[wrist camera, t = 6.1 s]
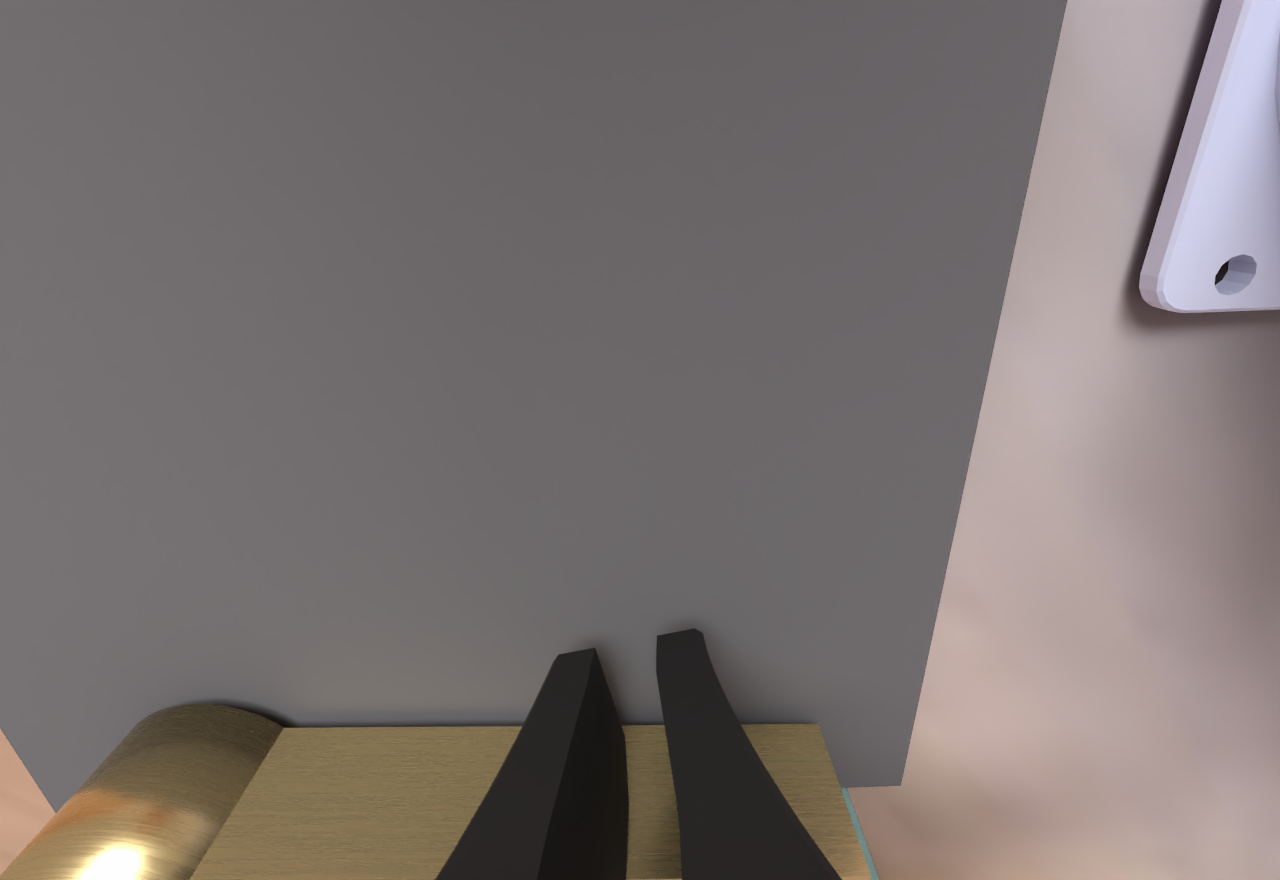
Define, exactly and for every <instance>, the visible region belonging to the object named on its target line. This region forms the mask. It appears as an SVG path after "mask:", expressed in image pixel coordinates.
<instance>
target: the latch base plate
mask: <svg viewBox="0 0 1280 880" xmlns="http://www.w3.org/2000/svg"><path fill="white" fill-rule="evenodd" d="M1066 3H1067V0H0V729H1V730H2V732H3V733H4V735H5V736H6V738H7V739H8V741H9V742H10V744H11V745H12V747H13V749H14V750H15V752H16V753H17V755H18V756H19V758H20V759H21V761H22V762H23V764H24V765H25V767H26V768H27V770H28V771H29V773H30V775H31V776H32V778H33V779H34V781H35V782H36V784H37V785H38V787H39V788H40V790H41V791H42V793H43V794H44V796H45V797H46V799H47V801H48V802H49V804H50V805H51V807H52V808H53V810H54V811H55V813H57V812H58V811H59V810H60V809H61V808H62V806H63V805H64V804H65V803H66V802H67V801H68V800H69V799H70V797H71V796H72V795H73V794H74V793H75V792H76V791H77V790H78V789H79V787H80V786H81V785H82V784H83V783H84V782H85V781H86V780H87V779H88V777H89V776H90V775H91V774H92V773H93V772H94V771H95V770H96V768H97V767H98V766H99V765H100V764H101V763H102V762H103V761H104V760H105V758H106V757H107V756H108V755H109V754H110V753H111V752H112V751H113V750H114V748H115V747H116V746H117V745H118V744H119V743H120V742H121V741H122V739H123V738H124V737H125V736H126V735H127V734H128V733H129V732H130V731H131V729H132V728H133V727H134V726H135V725H136V724H137V723H139V722H140V721H141V720H142V719H144V718H145V717H147V716H149V715H150V714H152V713H155V712H157V711H159V710H162V709H166V708H169V707H173V706H179V705H186V704H213V705H221V706H228V707H232V708H237V709H241V710H245V711H248V712H251V713H254V714H257V715H259V716H262V717H264V718H267V719H269V720H271V721H273V722H275V723H276V724H278V725H280V726H282V727H283V728H337V727H471V726H523V724H524V722H525V720H526V718H527V716H528V714H529V712H530V710H531V708H532V706H533V704H534V702H535V700H536V698H537V695H538V693H539V691H540V689H541V687H542V685H543V683H544V681H545V679H546V676H547V674H548V672H549V670H550V668H551V666H552V664H553V661H554V660H555V659H556V657H557V656H558V655H559V654H564V653H569V652H574V651H579V650H585V649H590V648H595V649H596V652H597V655H598V658H599V661H600V663H601V666H602V669H603V672H604V675H605V678H606V681H607V684H608V687H609V690H610V693H611V696H612V699H613V702H614V705H615V708H616V711H617V714H618V717H619V720H620V723H621V725H664V720H663V713H662V707H661V701H660V694H659V688H658V681H657V675H656V645H657V635H663V634H668V633H673V632H678V631H683V630H689V629H694V628H695V629H697V630H699V631H700V632H702V633H703V635H704V639H705V644H706V648H707V652H708V655H709V658H710V661H711V663H712V666H713V668H714V671H715V673H716V676H717V678H718V680H719V682H720V685H721V687H722V689H723V691H724V693H725V695H726V697H727V699H728V701H729V703H730V705H731V707H732V709H733V711H734V713H735V715H736V717H737V719H738V720H739V722H740V724H818V725H819V727H820V730H821V733H822V736H823V739H824V742H825V745H826V747H827V750H828V753H829V756H830V759H831V762H832V765H833V768H834V770H835V773H836V776H837V779H838V782H839V785H840V788H850V787H874V786H899V785H901V782H902V777H903V772H904V767H905V763H906V758H907V753H908V749H909V744H910V739H911V734H912V730H913V725H914V720H915V716H916V711H917V706H918V701H919V697H920V692H921V687H922V683H923V678H924V673H925V668H926V664H927V659H928V654H929V649H930V645H931V640H932V635H933V631H934V626H935V621H936V616H937V612H938V607H939V602H940V598H941V593H942V588H943V583H944V579H945V574H946V569H947V565H948V560H949V555H950V550H951V546H952V541H953V536H954V532H955V527H956V522H957V517H958V513H959V508H960V503H961V499H962V494H963V489H964V484H965V480H966V475H967V470H968V465H969V461H970V456H971V451H972V447H973V442H974V437H975V432H976V428H977V423H978V418H979V414H980V409H981V404H982V399H983V395H984V390H985V385H986V381H987V376H988V371H989V366H990V362H991V357H992V352H993V348H994V343H995V338H996V333H997V329H998V324H999V319H1000V315H1001V310H1002V305H1003V300H1004V296H1005V291H1006V286H1007V282H1008V277H1009V272H1010V267H1011V263H1012V258H1013V253H1014V248H1015V244H1016V239H1017V234H1018V230H1019V225H1020V220H1021V215H1022V211H1023V206H1024V201H1025V197H1026V192H1027V187H1028V182H1029V178H1030V173H1031V168H1032V164H1033V159H1034V154H1035V149H1036V145H1037V140H1038V135H1039V131H1040V126H1041V121H1042V116H1043V112H1044V107H1045V102H1046V98H1047V93H1048V88H1049V83H1050V79H1051V74H1052V69H1053V64H1054V60H1055V55H1056V50H1057V46H1058V41H1059V36H1060V31H1061V27H1062V22H1063V17H1064V13H1065V8H1066Z"/></svg>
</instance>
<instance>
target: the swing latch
mask: <svg viewBox="0 0 1280 880" xmlns="http://www.w3.org/2000/svg"><path fill="white" fill-rule="evenodd" d="M621 726H622V729H623V732H624V735H625V743H626V759H627V774H628V794H629V819H628V844H627V867H626V880H682V871H681V850H680V830H679V821H678V812H677V803H676V795H675V789H674V782H673V776H672V770H671V764H670V757H669V751H668V745H667V738H666V732H665V726H664V725H621ZM741 726H742V728H743V729H744V731H745V733H746V735H747V737H748V738H749V740H750V742H751V744H752V746H753V747H754V749H755V751H756V752H757V754H758V756H759V757H760V759H761V761H762V762H763V764H764V766H765V767H766V769H767V771H768V772H769V774H770V775H771V777H772V779H773V780H774V782H775V783H776V785H777V786H778V788H779V790H780V791H781V793H782V794H783V796H784V797H785V799H786V801H787V802H788V804H789V805H790V807H791V808H792V810H793V811H794V813H795V814H796V816H797V817H798V819H799V820H800V821H801V823H802V824H803V826H804V827H805V829H806V830H807V832H808V833H809V835H810V836H811V837H812V839H813V840H814V842H815V843H816V844H817V846H818V847H819V849H820V850H821V851H822V853H823V854H824V856H825V857H826V858H827V860H828V861H829V862H830V864H831V865H832V867H833V868H834V869H835V871H836V872H837V873H838V875H839V876H840V877H841V879H842V880H871V874H870V871H869V868H868V865H867V862H866V859H865V856H864V854H863V851H862V848H861V845H860V842H859V839H858V836H857V834H856V831H855V828H854V825H853V822H852V819H851V816H850V813H849V811H848V808H847V805H846V802H845V799H844V796H843V793H842V791H841V788H840V785H839V782H838V779H837V776H836V773H835V770H834V768H833V765H832V762H831V759H830V756H829V753H828V750H827V747H826V745H825V742H824V739H823V736H822V733H821V730H820V727H819V725H818V724H741ZM521 728H522V726H471V727H337V728H283V727H282V726H280V725H278V724H276V723H275V722H273V721H271V720H269V719H267V718H264V717H262V716H259V715H257V714H254V713H251V712H248V711H245V710H241V709H237V708H232V707H228V706H221V705H213V704H186V705H179V706H173V707H169V708H166V709H162V710H159V711H157V712H155V713H152V714H150V715H149V716H147V717H145V718H144V719H142V720H141V721H140V722H139V723H137V724H136V725H135V726H134V727H133V728H132V729H131V731H130V732H129V733H128V734H127V735H126V736H125V737H124V738H123V739H122V741H121V742H120V743H119V744H118V745H117V746H116V747H115V748H114V750H113V751H112V752H111V753H110V754H109V755H108V756H107V757H106V758H105V760H104V761H103V762H102V763H101V764H100V765H99V766H98V767H97V768H96V770H95V771H94V772H93V773H92V774H91V775H90V776H89V777H88V779H87V780H86V781H85V782H84V783H83V784H82V785H81V786H80V787H79V789H78V790H77V791H76V792H75V793H74V794H73V795H72V796H71V797H70V799H69V800H68V801H67V802H66V803H65V804H64V805H63V806H62V808H61V809H60V810H59V811H58V812H57V813H56V814H55V815H54V816H53V818H52V819H51V820H50V821H49V822H48V823H47V824H46V825H45V826H44V828H43V829H42V830H41V831H40V832H39V833H38V834H37V835H36V837H35V838H34V839H33V840H32V841H31V842H30V843H29V844H28V845H27V847H26V848H25V849H24V850H23V851H22V852H21V853H20V854H19V856H18V857H17V858H16V859H15V860H14V861H13V862H12V863H11V864H10V866H9V867H8V868H7V869H6V870H5V871H4V872H3V873H2V874H1V876H0V880H435V879H436V877H437V875H438V874H439V872H440V871H441V869H442V867H443V866H444V864H445V863H446V861H447V860H448V858H449V856H450V855H451V853H452V851H453V850H454V848H455V847H456V845H457V843H458V841H459V840H460V838H461V836H462V835H463V833H464V831H465V830H466V828H467V826H468V824H469V823H470V821H471V819H472V818H473V816H474V814H475V813H476V811H477V809H478V807H479V806H480V804H481V802H482V801H483V799H484V797H485V796H486V794H487V792H488V790H489V788H490V787H491V785H492V783H493V781H494V779H495V777H496V776H497V774H498V772H499V770H500V768H501V766H502V764H503V762H504V760H505V759H506V757H507V755H508V753H509V751H510V749H511V747H512V745H513V743H514V742H515V740H516V738H517V736H518V734H519V732H520V730H521Z"/></svg>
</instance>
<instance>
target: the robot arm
mask: <svg viewBox="0 0 1280 880" xmlns="http://www.w3.org/2000/svg"><path fill="white" fill-rule="evenodd" d="M1228 260H1229V266H1228V271H1227V273H1226V274H1225V276H1224V278H1223V279H1222V280H1221V281H1220V282H1219V283H1218V284H1216V285H1215V276H1216V274H1217V273H1218V271H1219V269H1220V268H1221V266H1222V265H1223V264H1224V263H1225V262H1227V261H1228ZM1139 290H1140V292H1141V295H1142V298H1143V300H1144V301H1146V302H1147V303H1148V304H1149V305H1151V306H1152V307H1156V308H1160V309H1164V310H1168V311H1173V312H1178V313H1202V312H1228V311H1254V310H1280V0H1222V3H1221V6H1220V9H1219V13H1218V16H1217V19H1216V23H1215V26H1214V30H1213V33H1212V36H1211V40H1210V43H1209V46H1208V50H1207V53H1206V56H1205V60H1204V63H1203V66H1202V70H1201V73H1200V76H1199V80H1198V83H1197V86H1196V90H1195V93H1194V96H1193V100H1192V103H1191V106H1190V110H1189V113H1188V116H1187V120H1186V123H1185V126H1184V130H1183V133H1182V137H1181V140H1180V143H1179V147H1178V150H1177V153H1176V157H1175V160H1174V163H1173V167H1172V170H1171V173H1170V177H1169V180H1168V183H1167V187H1166V190H1165V193H1164V197H1163V200H1162V203H1161V207H1160V210H1159V213H1158V217H1157V220H1156V223H1155V227H1154V230H1153V234H1152V237H1151V240H1150V244H1149V247H1148V250H1147V254H1146V257H1145V260H1144V264H1143V267H1142V270H1141V274H1140V282H1139ZM656 675H657V681H658V688H659V694H660V701H661V707H662V713H663V720H664V726H665V732H666V738H667V745H668V751H669V757H670V764H671V770H672V776H673V782H674V789H675V795H676V803H677V812H678V821H679V830H680V850H681V871H682V880H842V879H841V877H840V876H839V875H838V873H837V872H836V871H835V869H834V868H833V867H832V865H831V864H830V862H829V861H828V860H827V858H826V857H825V856H824V854H823V853H822V851H821V850H820V849H819V847H818V846H817V844H816V843H815V842H814V840H813V839H812V837H811V836H810V835H809V833H808V832H807V830H806V829H805V827H804V826H803V824H802V823H801V821H800V820H799V819H798V817H797V816H796V814H795V813H794V811H793V810H792V808H791V807H790V805H789V804H788V802H787V801H786V799H785V797H784V796H783V794H782V793H781V791H780V790H779V788H778V786H777V785H776V783H775V782H774V780H773V779H772V777H771V775H770V774H769V772H768V771H767V769H766V767H765V766H764V764H763V762H762V761H761V759H760V757H759V756H758V754H757V752H756V751H755V749H754V747H753V746H752V744H751V742H750V740H749V738H748V737H747V735H746V733H745V731H744V729H743V728H742V726H741V724H740V722H739V720H738V719H737V717H736V715H735V713H734V711H733V709H732V707H731V705H730V703H729V701H728V699H727V697H726V695H725V693H724V691H723V689H722V687H721V685H720V682H719V680H718V678H717V676H716V673H715V671H714V668H713V666H712V663H711V661H710V658H709V655H708V652H707V648H706V644H705V639H704V635H703V633H702V632H700V631H699V630H697V629H695V628H694V629H689V630H683V631H678V632H673V633H668V634H663V635H657V645H656ZM628 819H629V794H628V774H627V759H626V743H625V735H624V732H623V729H622V726H621V723H620V720H619V717H618V714H617V711H616V708H615V705H614V702H613V699H612V696H611V693H610V690H609V687H608V684H607V681H606V678H605V675H604V672H603V669H602V666H601V663H600V661H599V658H598V655H597V652H596V649H595V648H590V649H585V650H579V651H574V652H569V653H564V654H559V655H558V656H557V657H556V659H555V660H554V661H553V664H552V666H551V668H550V670H549V672H548V674H547V676H546V679H545V681H544V683H543V685H542V687H541V689H540V691H539V693H538V695H537V698H536V700H535V702H534V704H533V706H532V708H531V710H530V712H529V714H528V716H527V718H526V720H525V722H524V724H523V726H522V728H521V730H520V732H519V734H518V736H517V738H516V740H515V742H514V743H513V745H512V747H511V749H510V751H509V753H508V755H507V757H506V759H505V760H504V762H503V764H502V766H501V768H500V770H499V772H498V774H497V776H496V777H495V779H494V781H493V783H492V785H491V787H490V788H489V790H488V792H487V794H486V796H485V797H484V799H483V801H482V802H481V804H480V806H479V807H478V809H477V811H476V813H475V814H474V816H473V818H472V819H471V821H470V823H469V824H468V826H467V828H466V830H465V831H464V833H463V835H462V836H461V838H460V840H459V841H458V843H457V845H456V847H455V848H454V850H453V851H452V853H451V855H450V856H449V858H448V860H447V861H446V863H445V864H444V866H443V867H442V869H441V871H440V872H439V874H438V875H437V877H436V879H435V880H626V867H627V844H628Z"/></svg>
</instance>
